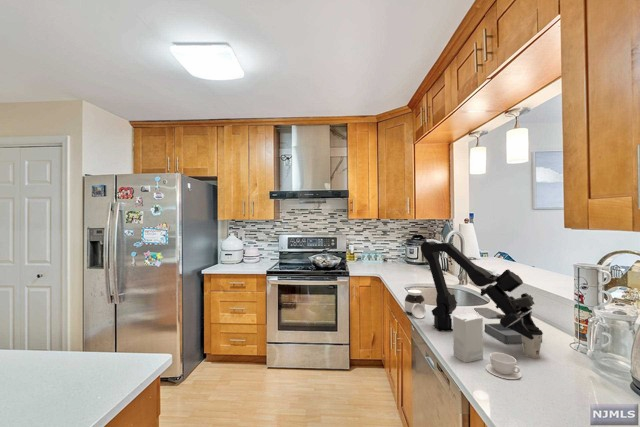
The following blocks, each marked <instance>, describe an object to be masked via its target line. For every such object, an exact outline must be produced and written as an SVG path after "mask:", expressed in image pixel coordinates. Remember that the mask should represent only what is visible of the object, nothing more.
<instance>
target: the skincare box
mask: <svg viewBox="0 0 640 427" xmlns="http://www.w3.org/2000/svg"><path fill="white" fill-rule="evenodd" d="M483 320H484V318H483V316H482V317H481V316H479V315H476V314H474V313H472V312H465V313H461V314H457V315H456V314H455V315H452V322H453V323H452V329H453V331H452V332H453V333H452V334H453V335H452V336H453V338H452V339H453V341H452V342H453V344H452V345H453V346H452V347H453V356H454V357H455V358H458V359H459V360H461V361H462V362H464V363H470V362H475V361H478V360H481V359H484V349H483V348H484V346H483V345H484V340H483V337H484V336H483V335H484V334H483V333H484V332H483V328H484V327H483V324H484V322H483Z"/></svg>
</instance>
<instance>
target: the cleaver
mask: <svg viewBox="0 0 640 427" xmlns="http://www.w3.org/2000/svg"><path fill="white" fill-rule="evenodd" d="M473 308H474V310H475V311H476V313H477V312H478V313H479V314H478V313H477V314H478V315H480V316H482V317H485V318H487V319H490V320H491V319H492V320H493V319H494V320H495V319H497V320H498V319H499V320H501V319H502V318H504V315H505V314H504V313H503V314H502V313H500V312H498V311H496V310H494V309H491V308H489V307H473ZM474 310H473V311H474ZM475 311H474V312H475Z"/></svg>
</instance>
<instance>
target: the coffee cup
mask: <svg viewBox="0 0 640 427" xmlns="http://www.w3.org/2000/svg"><path fill="white" fill-rule="evenodd" d="M525 326H526V328H527V329H528V330H529V332H530V333H531V334H532V336H533V337H534V339H532V340H531V339H529V338H527V337H525V336H523V335H522V334H521V338H522V344H521V345H522V351H523V355H525V356H526V357H528V358H534V359H537V358H540V352H541V344H542V343H541V340H542V341H543V335H544V332H543V331H542V330H541V329H540V327H538V326H533V325H526V324H525Z"/></svg>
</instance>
